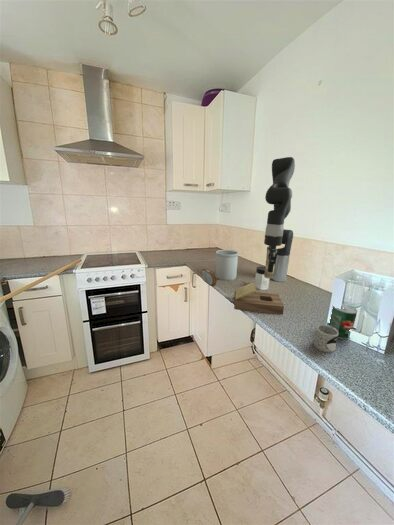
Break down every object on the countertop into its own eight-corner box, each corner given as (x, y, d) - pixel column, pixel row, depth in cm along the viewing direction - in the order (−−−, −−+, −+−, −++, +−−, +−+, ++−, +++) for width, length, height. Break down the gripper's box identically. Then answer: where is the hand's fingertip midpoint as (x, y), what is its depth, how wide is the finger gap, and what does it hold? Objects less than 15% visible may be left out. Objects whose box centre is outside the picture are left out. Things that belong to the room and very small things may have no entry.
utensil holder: (215, 280, 139) (217, 254, 134) (213, 273, 153) (214, 249, 148) (238, 281, 139) (240, 254, 134) (234, 273, 153) (236, 249, 149)
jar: (257, 290, 126) (259, 270, 122) (251, 285, 133) (253, 266, 130) (271, 289, 127) (274, 270, 124) (265, 284, 135) (267, 266, 131)
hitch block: (234, 297, 116) (234, 290, 115) (277, 301, 112) (278, 294, 111) (234, 309, 102) (234, 301, 101) (282, 314, 99) (284, 306, 98)
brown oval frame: (216, 287, 128) (217, 273, 126) (212, 288, 127) (212, 274, 125) (204, 279, 141) (205, 266, 139) (200, 279, 140) (201, 267, 138)
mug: (329, 355, 73) (332, 338, 71) (309, 344, 78) (312, 328, 76) (342, 345, 78) (346, 329, 76) (323, 335, 84) (327, 320, 82)
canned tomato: (330, 325, 91) (335, 301, 88) (352, 333, 86) (359, 308, 83) (325, 333, 85) (330, 307, 82) (348, 342, 80) (355, 315, 77)
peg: (263, 275, 105) (266, 251, 102) (272, 276, 104) (275, 251, 101) (264, 278, 101) (267, 253, 98) (273, 278, 100) (277, 253, 97)
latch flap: (236, 291, 113) (235, 289, 113) (254, 283, 110) (253, 282, 110) (236, 300, 102) (235, 298, 102) (256, 291, 100) (255, 290, 100)
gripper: (263, 231, 104) (259, 265, 109) (267, 236, 91) (262, 274, 96) (279, 232, 103) (275, 267, 108) (286, 237, 90) (280, 276, 94)
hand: (269, 270), depth 102 cm, fingers closed on peg, 4 cm apart
